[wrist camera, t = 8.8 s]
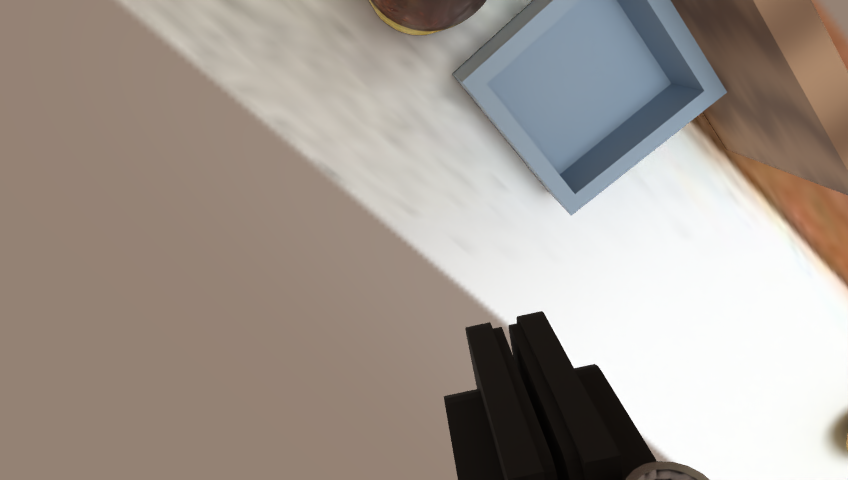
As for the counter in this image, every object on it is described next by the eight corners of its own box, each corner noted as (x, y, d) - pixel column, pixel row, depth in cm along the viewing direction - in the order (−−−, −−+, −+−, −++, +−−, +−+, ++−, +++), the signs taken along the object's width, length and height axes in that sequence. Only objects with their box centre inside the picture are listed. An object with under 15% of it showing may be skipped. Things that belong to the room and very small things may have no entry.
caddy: (452, 74, 35) (461, 82, 31) (594, -56, 33) (628, -68, 28) (549, 192, 39) (571, 215, 34) (684, 83, 36) (727, 92, 32)
